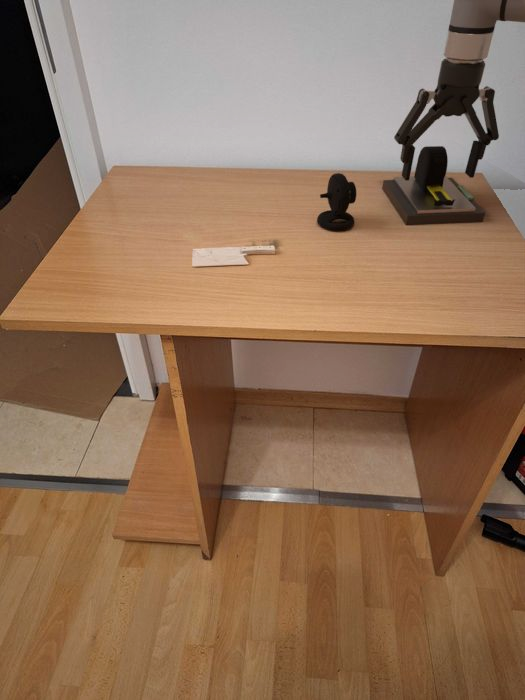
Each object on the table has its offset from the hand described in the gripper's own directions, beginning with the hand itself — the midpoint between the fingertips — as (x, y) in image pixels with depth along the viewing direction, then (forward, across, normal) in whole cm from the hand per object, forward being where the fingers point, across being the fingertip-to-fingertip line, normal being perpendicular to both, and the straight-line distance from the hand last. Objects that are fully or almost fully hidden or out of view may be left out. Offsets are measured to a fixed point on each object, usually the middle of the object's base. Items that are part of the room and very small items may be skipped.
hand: (437, 176), depth 100 cm
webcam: (+6, +22, +7) cm, 24 cm away
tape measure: (+3, 0, 0) cm, 4 cm away
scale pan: (+4, 0, 0) cm, 4 cm away
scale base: (+6, 0, 0) cm, 6 cm away
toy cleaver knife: (+6, +43, +19) cm, 48 cm away
